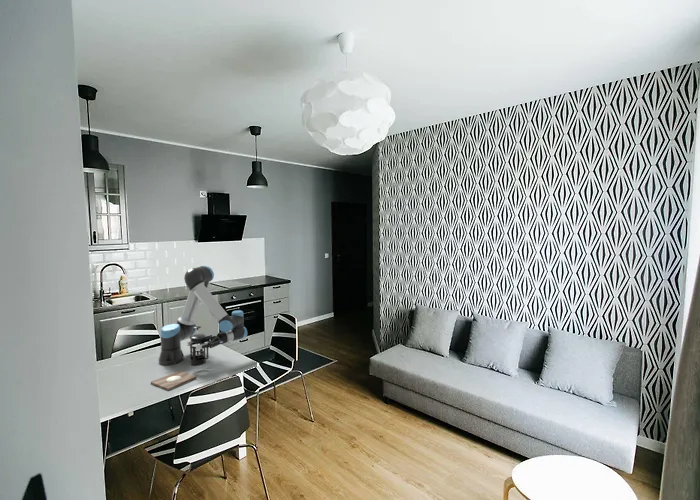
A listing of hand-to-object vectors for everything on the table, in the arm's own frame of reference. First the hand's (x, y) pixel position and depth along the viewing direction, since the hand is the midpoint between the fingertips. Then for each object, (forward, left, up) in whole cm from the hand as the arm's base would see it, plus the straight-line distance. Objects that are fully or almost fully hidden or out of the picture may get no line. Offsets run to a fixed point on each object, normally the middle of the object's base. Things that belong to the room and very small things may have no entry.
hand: (191, 345), depth 220 cm
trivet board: (+1, -13, -17) cm, 21 cm away
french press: (+1, +4, -12) cm, 13 cm away
